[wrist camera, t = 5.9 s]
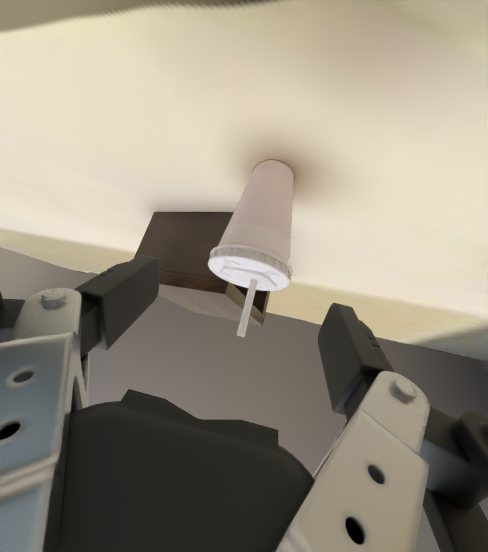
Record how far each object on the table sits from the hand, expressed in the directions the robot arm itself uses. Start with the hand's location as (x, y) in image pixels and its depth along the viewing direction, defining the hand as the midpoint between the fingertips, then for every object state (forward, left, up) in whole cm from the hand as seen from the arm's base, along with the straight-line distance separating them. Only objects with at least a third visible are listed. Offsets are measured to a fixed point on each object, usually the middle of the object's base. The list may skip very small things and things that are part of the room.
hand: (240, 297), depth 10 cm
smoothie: (+2, +6, -13) cm, 14 cm away
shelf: (+13, +19, -13) cm, 26 cm away
